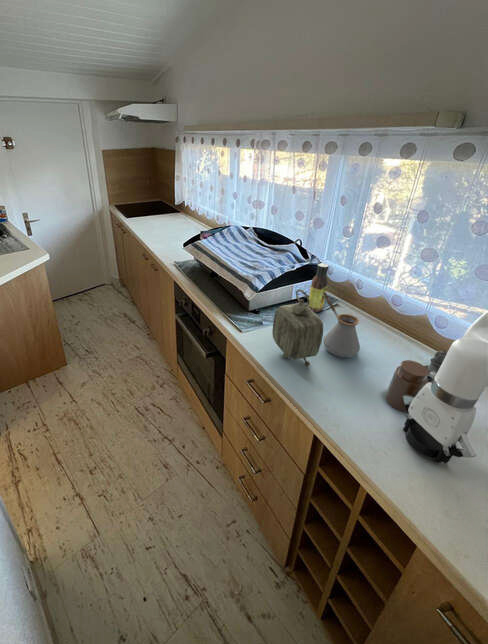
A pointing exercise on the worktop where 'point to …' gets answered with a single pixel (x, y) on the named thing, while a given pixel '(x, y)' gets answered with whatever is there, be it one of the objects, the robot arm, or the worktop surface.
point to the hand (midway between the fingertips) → (423, 444)
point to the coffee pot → (342, 335)
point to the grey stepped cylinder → (435, 363)
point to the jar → (406, 383)
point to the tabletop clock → (297, 330)
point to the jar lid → (422, 441)
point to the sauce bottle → (318, 288)
